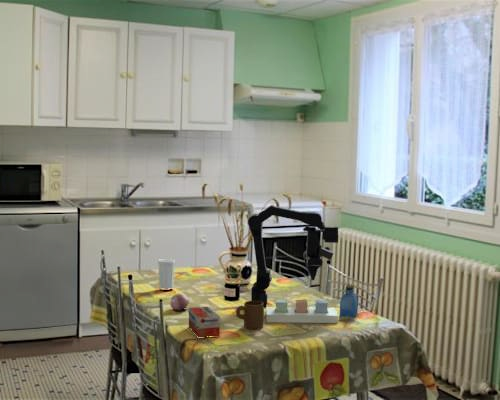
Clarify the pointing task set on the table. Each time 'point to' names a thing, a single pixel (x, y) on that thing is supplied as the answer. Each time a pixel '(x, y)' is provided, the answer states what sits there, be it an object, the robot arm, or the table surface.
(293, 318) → the panel
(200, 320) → the medicine box
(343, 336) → the table surface
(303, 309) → the button terracotta
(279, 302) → the button sage
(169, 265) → the cup
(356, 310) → the perfume bottle
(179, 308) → the onion
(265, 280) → the robot arm
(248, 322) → the mug
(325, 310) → the button slate
